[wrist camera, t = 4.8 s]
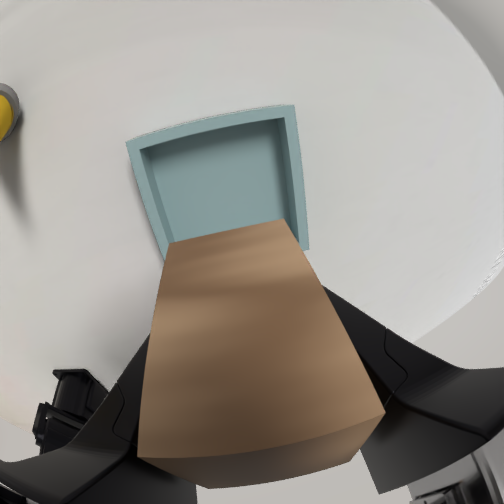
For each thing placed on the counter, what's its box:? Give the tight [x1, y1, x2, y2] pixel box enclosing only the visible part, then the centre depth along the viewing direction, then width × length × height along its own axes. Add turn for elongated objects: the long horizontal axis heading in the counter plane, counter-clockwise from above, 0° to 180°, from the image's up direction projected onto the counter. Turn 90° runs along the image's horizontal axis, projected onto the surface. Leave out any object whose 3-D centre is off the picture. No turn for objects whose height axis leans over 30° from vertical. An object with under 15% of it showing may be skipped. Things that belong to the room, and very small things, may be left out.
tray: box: [126, 105, 309, 261], centre depth 17 cm, size 10×10×2 cm
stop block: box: [137, 219, 385, 489], centre depth 7 cm, size 4×4×7 cm
